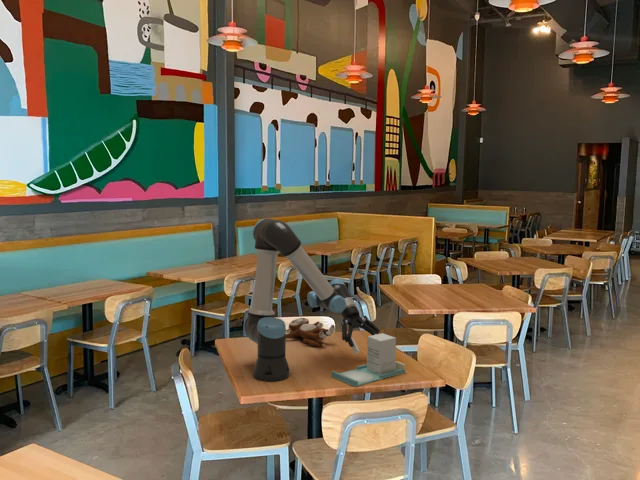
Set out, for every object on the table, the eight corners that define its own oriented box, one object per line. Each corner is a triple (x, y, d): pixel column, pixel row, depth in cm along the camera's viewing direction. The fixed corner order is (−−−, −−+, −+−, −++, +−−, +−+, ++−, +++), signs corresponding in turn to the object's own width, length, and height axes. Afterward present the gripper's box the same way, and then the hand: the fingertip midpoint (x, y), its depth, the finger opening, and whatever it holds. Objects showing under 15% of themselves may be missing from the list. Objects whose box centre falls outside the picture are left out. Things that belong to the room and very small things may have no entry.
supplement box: (381, 366, 250) (382, 332, 248) (396, 371, 243) (396, 337, 241) (366, 369, 245) (366, 335, 243) (379, 375, 237) (380, 340, 236)
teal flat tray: (355, 387, 226) (355, 377, 225) (331, 376, 237) (331, 367, 237) (405, 372, 243) (405, 364, 243) (380, 363, 255) (381, 355, 254)
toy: (313, 335, 271) (269, 325, 290) (316, 355, 273) (272, 344, 293) (342, 319, 287) (298, 311, 306) (344, 339, 289) (300, 330, 309)
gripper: (365, 311, 269) (385, 350, 259) (323, 317, 254) (342, 359, 244) (373, 302, 264) (394, 341, 254) (330, 308, 250) (351, 350, 239)
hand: (369, 350), depth 249 cm, fingers open, 13 cm apart
